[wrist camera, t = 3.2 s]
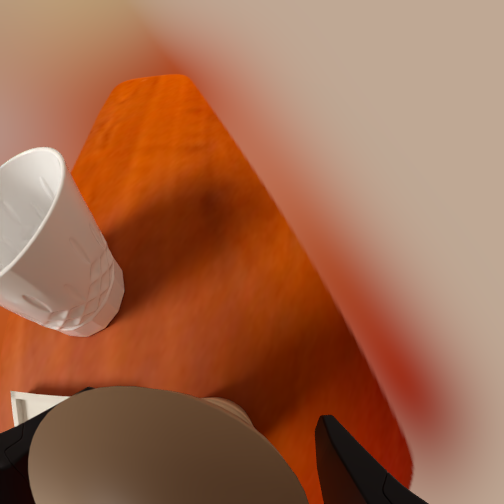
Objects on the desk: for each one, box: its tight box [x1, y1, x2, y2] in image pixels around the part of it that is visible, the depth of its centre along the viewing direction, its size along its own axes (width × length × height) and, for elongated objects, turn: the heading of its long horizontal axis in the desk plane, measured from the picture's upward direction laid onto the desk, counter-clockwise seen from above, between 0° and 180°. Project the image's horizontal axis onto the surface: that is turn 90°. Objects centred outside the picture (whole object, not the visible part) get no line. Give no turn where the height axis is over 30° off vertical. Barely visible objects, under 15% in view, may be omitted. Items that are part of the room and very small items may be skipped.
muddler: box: [28, 386, 309, 504], centre depth 8 cm, size 5×5×13 cm
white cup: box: [0, 147, 125, 337], centre depth 13 cm, size 8×8×10 cm
